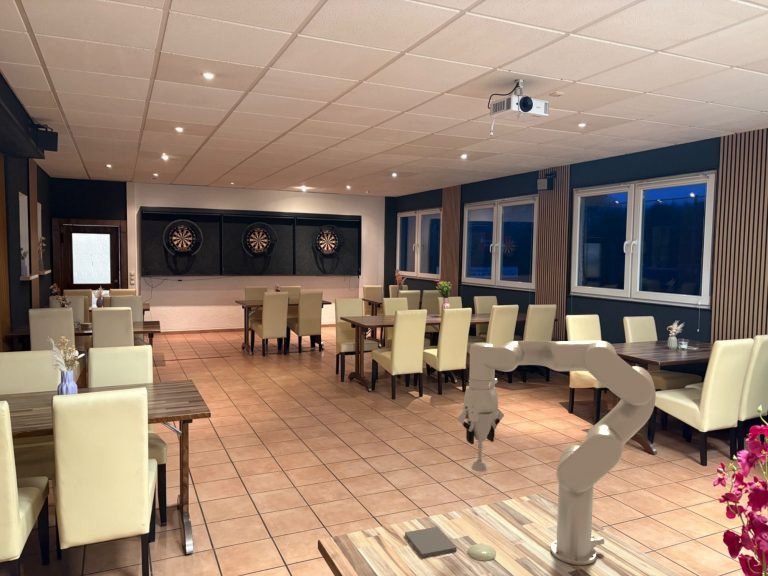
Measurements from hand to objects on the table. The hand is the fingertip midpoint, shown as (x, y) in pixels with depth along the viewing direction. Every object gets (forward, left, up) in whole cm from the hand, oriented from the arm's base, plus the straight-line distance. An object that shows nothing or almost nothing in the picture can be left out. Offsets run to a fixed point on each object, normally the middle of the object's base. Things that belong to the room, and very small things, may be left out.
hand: (480, 441), depth 174 cm
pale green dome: (+4, +10, -30) cm, 32 cm away
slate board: (+16, 0, -29) cm, 34 cm away
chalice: (0, 0, -9) cm, 9 cm away
